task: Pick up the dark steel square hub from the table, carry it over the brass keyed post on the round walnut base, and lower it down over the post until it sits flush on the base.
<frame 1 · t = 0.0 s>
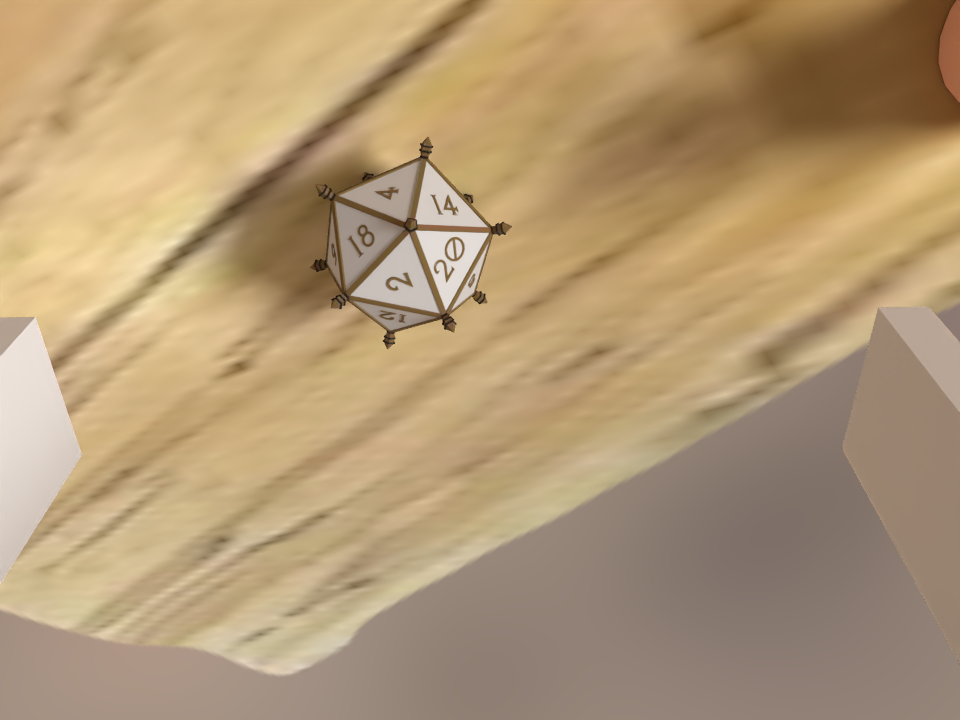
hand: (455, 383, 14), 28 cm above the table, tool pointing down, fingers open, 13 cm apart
game die: (414, 211, 43), on the table
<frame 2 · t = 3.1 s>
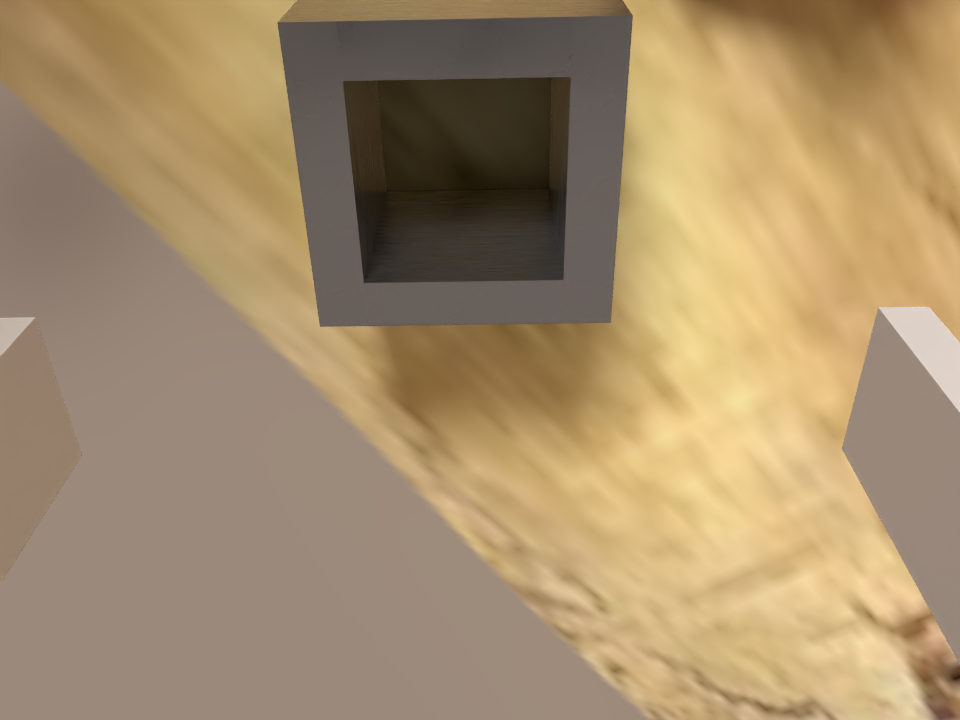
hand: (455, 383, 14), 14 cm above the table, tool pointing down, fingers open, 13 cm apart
steel hub: (465, 109, 25), on the table
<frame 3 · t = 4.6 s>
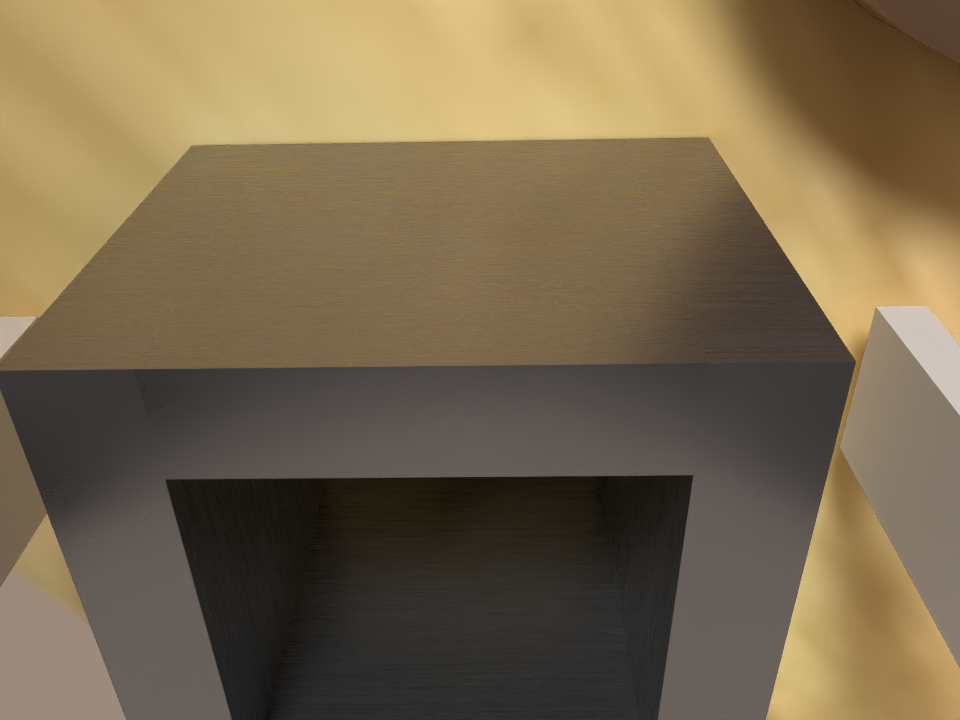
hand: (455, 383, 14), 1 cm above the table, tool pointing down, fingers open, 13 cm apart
steel hub: (457, 359, 15), on the table
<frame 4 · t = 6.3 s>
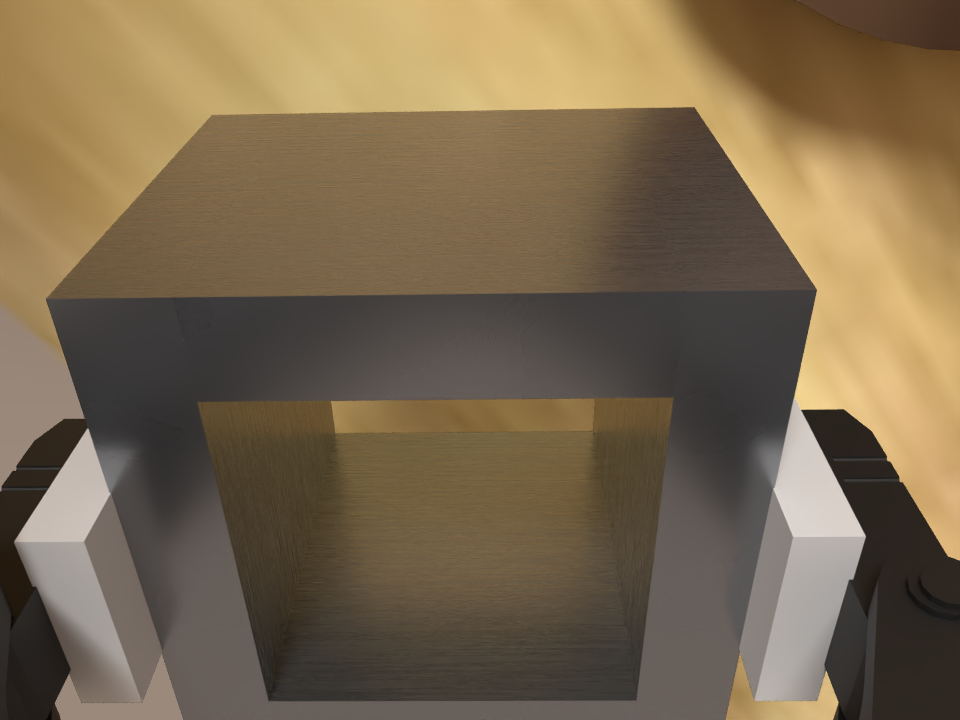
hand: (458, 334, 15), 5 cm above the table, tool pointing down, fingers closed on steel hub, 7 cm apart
steel hub: (459, 320, 16), point 5 cm above the table, touching gripper
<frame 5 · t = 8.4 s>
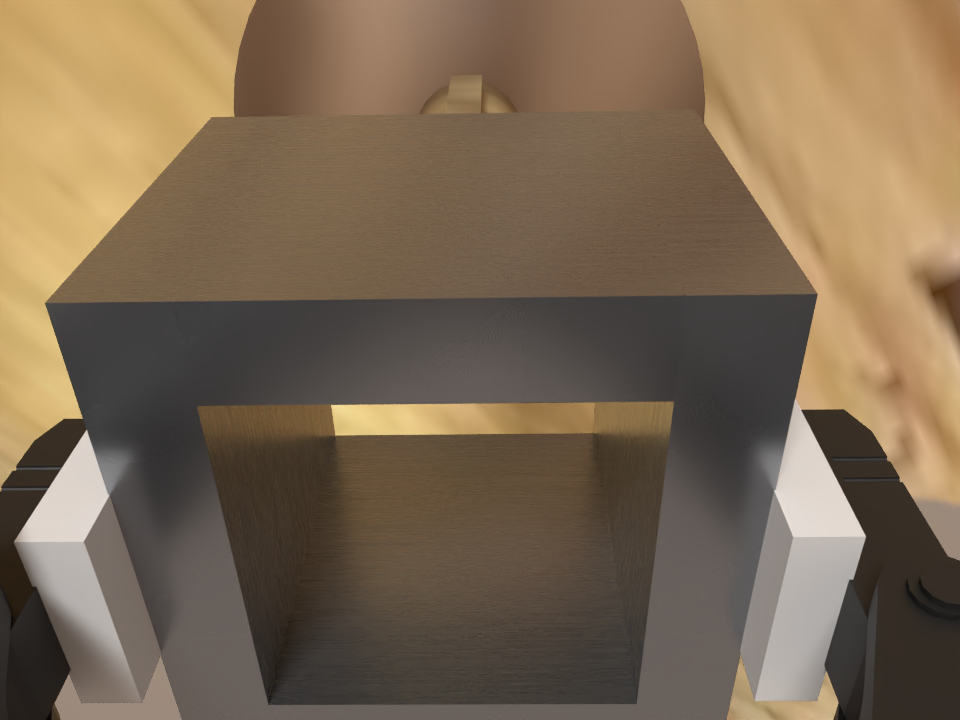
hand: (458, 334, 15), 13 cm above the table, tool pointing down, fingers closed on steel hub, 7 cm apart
post block: (470, 113, 26), on the table
steel hub: (459, 322, 15), point 12 cm above the table, touching gripper
when the fingers open (4 cm above the table, at t = 10.7 s): steel hub drops 2 cm, resting on post block.
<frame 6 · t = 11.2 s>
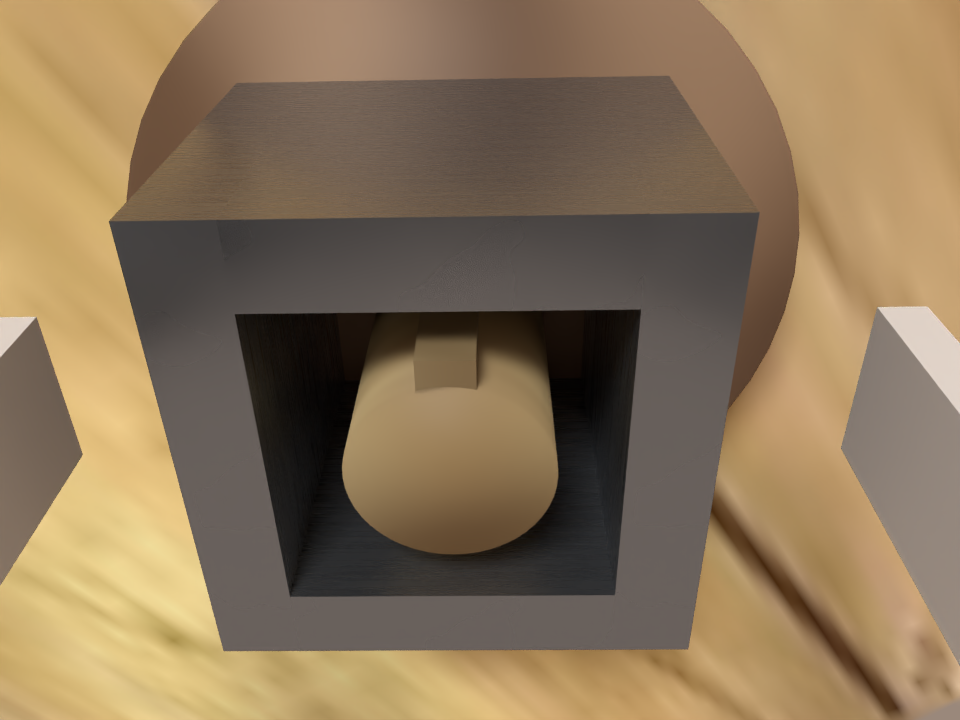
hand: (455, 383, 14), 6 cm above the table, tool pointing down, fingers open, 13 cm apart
post block: (464, 236, 19), on the table
steel hub: (458, 273, 17), point 2 cm above the table, touching post block
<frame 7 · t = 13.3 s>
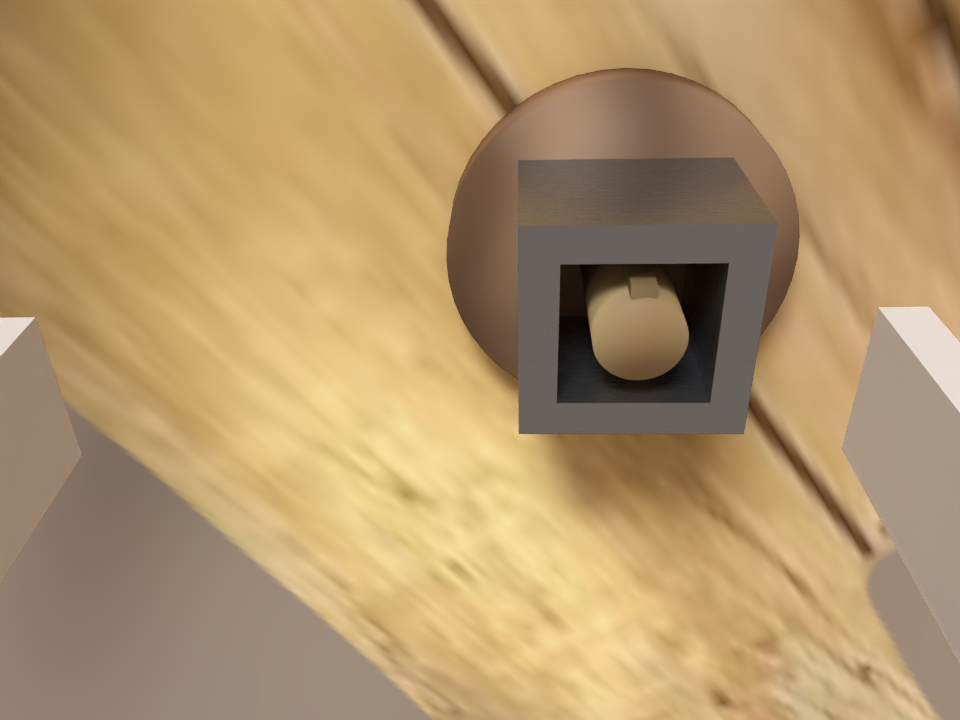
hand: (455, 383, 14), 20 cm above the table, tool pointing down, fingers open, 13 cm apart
post block: (615, 238, 34), on the table
steel hub: (618, 257, 32), point 2 cm above the table, touching post block
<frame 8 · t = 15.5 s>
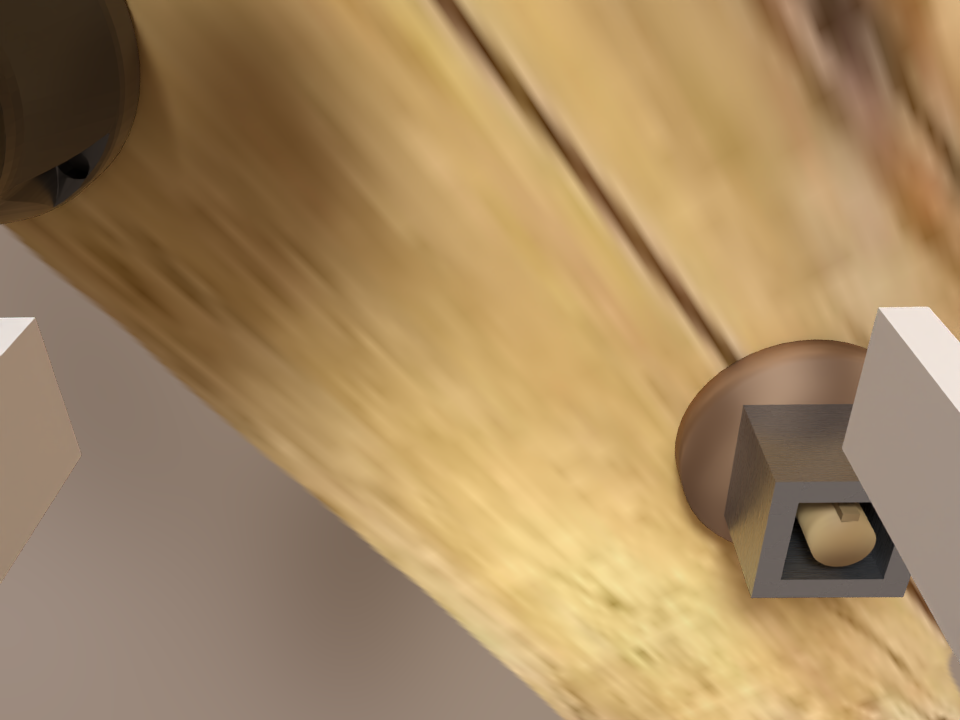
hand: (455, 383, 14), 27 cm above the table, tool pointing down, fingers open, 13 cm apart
post block: (793, 440, 48), on the table
steel hub: (804, 461, 46), point 2 cm above the table, touching post block
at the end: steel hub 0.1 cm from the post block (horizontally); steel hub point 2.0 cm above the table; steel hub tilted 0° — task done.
